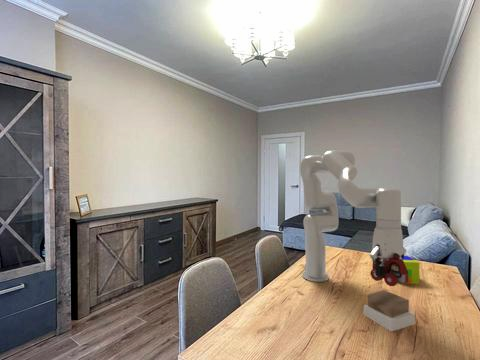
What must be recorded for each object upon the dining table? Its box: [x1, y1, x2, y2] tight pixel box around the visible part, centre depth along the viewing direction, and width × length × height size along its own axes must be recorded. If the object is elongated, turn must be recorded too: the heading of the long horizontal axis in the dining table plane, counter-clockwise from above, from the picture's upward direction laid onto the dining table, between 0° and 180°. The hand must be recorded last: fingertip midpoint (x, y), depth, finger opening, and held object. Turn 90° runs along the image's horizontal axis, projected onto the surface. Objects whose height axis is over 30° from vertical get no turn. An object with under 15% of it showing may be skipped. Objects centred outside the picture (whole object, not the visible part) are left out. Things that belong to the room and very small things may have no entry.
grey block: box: [363, 303, 416, 332], centre depth 92 cm, size 11×11×4 cm
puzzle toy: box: [391, 255, 420, 285], centre depth 127 cm, size 10×10×10 cm
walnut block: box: [367, 289, 410, 318], centre depth 92 cm, size 9×9×4 cm
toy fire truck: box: [369, 253, 409, 287], centre depth 91 cm, size 7×12×10 cm, turn 28°
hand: (388, 274), depth 91 cm, fingers closed on toy fire truck, 7 cm apart
